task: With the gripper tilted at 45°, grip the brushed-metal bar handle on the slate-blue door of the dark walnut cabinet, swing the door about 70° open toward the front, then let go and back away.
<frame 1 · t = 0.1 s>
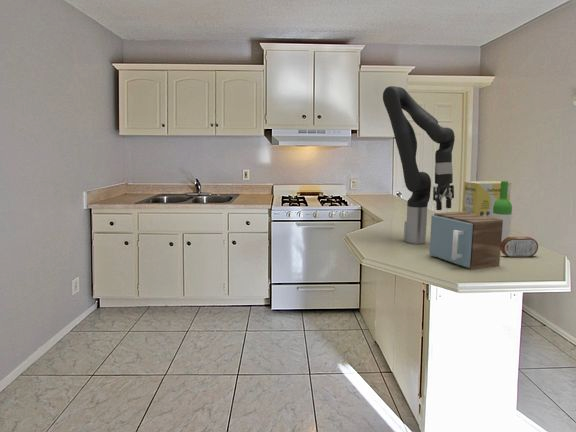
hand: (443, 209, 204), 17 cm above the table, tool pointing down, fingers open, 8 cm apart
pasta box: (483, 239, 225), on the table
tin: (518, 257, 190), on the table
wine bottle: (499, 247, 207), on the table
door: (445, 240, 177), point 9 cm above the table, hinge at 0.0°
cabinet: (464, 260, 183), on the table
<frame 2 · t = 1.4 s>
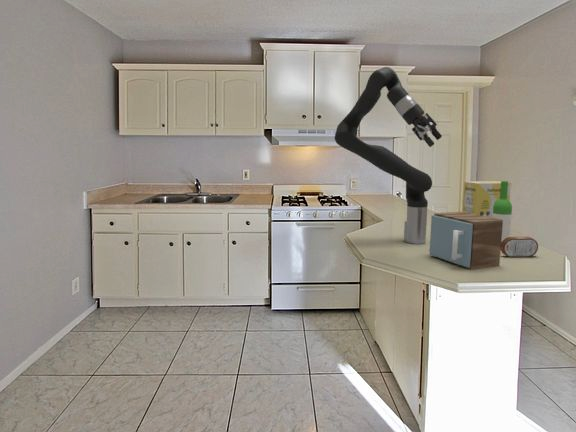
hand: (436, 142, 173), 47 cm above the table, tool tilted 40°, fingers open, 8 cm apart
nothing on the table moved.
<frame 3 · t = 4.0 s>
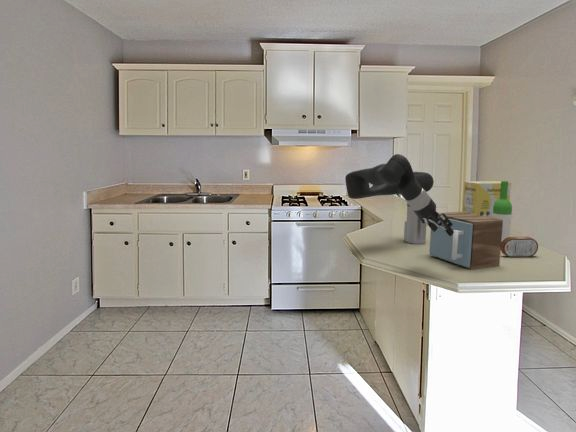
hand: (443, 232, 167), 14 cm above the table, tool tilted 45°, fingers open, 8 cm apart
nothing on the table moved.
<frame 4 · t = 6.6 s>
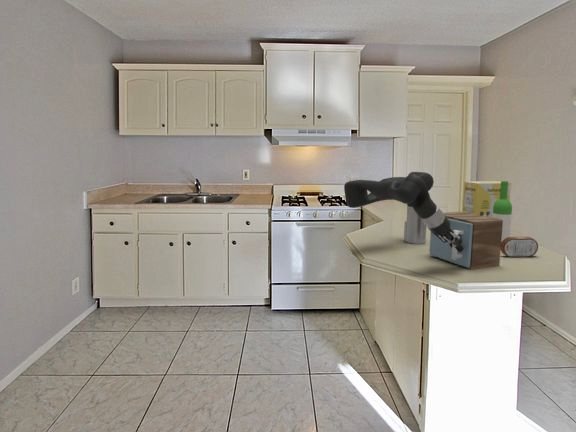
hand: (459, 249, 171), 7 cm above the table, tool tilted 45°, fingers closed on door, 2 cm apart
door: (445, 240, 177), point 9 cm above the table, hinge at 0.0°, touching gripper
everything else where it was.
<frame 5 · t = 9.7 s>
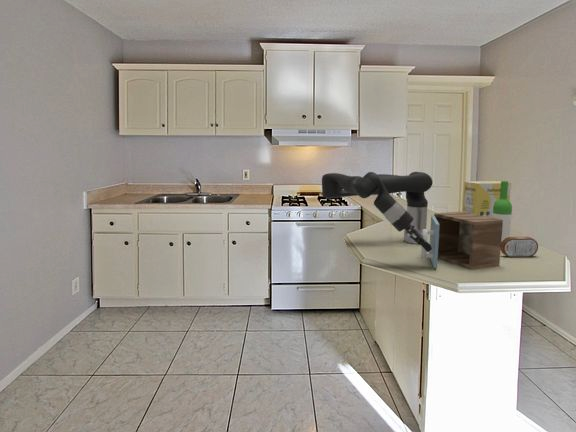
hand: (429, 249, 171), 7 cm above the table, tool tilted 45°, fingers closed on door, 2 cm apart
door: (428, 240, 178), point 9 cm above the table, hinge at 35.2°, touching gripper
everything else where it was.
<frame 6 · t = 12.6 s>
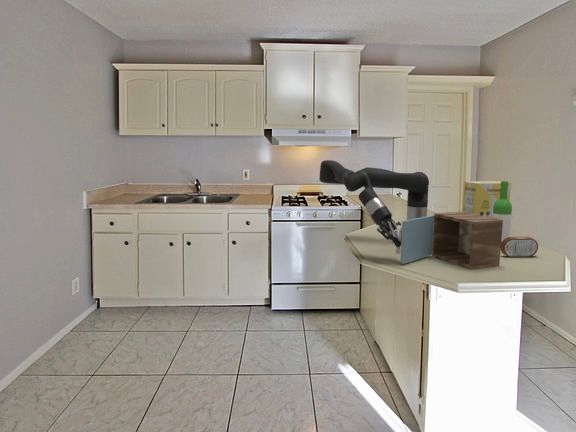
hand: (402, 245, 178), 7 cm above the table, tool tilted 45°, fingers open, 3 cm apart
door: (412, 237, 182), point 9 cm above the table, hinge at 69.4°
everything else where it was.
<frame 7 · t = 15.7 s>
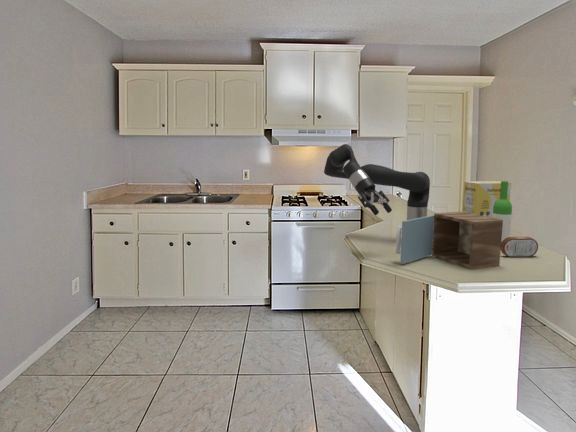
hand: (383, 212, 183), 19 cm above the table, tool tilted 45°, fingers open, 8 cm apart
nothing on the table moved.
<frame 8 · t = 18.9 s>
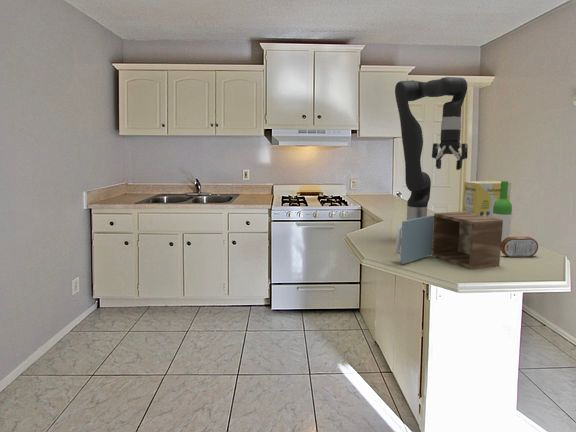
hand: (448, 169, 185), 36 cm above the table, tool pointing down, fingers open, 8 cm apart
nothing on the table moved.
at the end: door at +69° (first picture: +0°); the gripper is holding nothing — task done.
